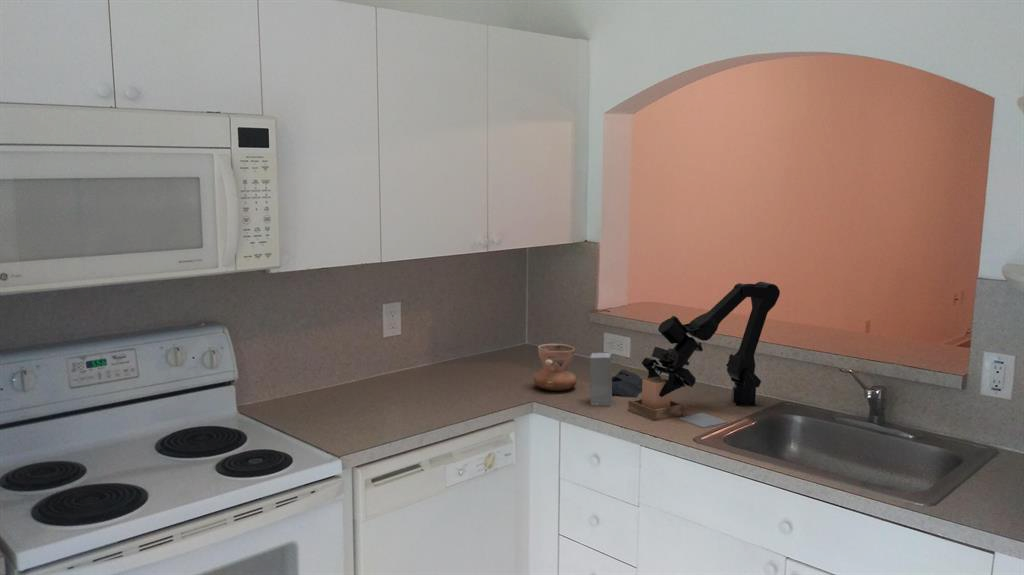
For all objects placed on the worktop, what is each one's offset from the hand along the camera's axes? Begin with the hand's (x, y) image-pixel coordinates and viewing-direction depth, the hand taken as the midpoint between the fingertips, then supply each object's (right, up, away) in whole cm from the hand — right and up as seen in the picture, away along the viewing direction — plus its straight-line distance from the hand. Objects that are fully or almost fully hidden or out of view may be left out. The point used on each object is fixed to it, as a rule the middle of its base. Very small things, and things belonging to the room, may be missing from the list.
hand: (652, 393), depth 242 cm
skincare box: (-14, -5, +12) cm, 20 cm away
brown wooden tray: (+1, -6, +2) cm, 7 cm away
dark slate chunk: (-5, -3, +29) cm, 30 cm away
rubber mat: (+14, -8, -6) cm, 17 cm away
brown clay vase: (-28, -2, +30) cm, 41 cm away
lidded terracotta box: (+1, -6, +2) cm, 6 cm away
